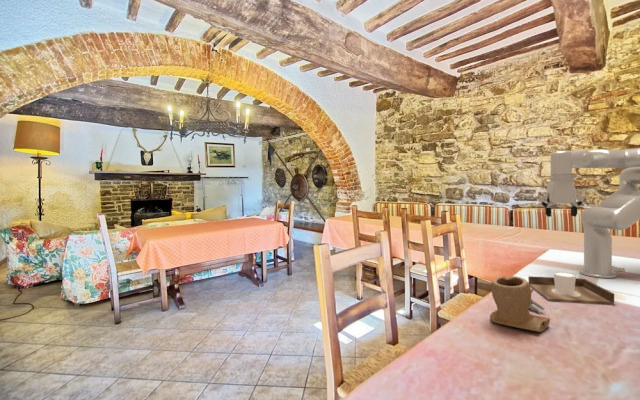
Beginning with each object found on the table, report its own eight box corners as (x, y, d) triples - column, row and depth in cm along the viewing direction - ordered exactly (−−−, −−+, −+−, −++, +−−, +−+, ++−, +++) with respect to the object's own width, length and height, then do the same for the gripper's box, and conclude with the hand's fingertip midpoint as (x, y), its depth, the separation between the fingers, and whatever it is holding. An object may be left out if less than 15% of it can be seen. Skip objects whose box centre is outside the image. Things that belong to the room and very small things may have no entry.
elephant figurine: (530, 317, 99) (505, 299, 107) (533, 325, 103) (508, 307, 110) (551, 297, 100) (525, 280, 108) (554, 305, 103) (528, 289, 111)
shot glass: (566, 289, 120) (566, 271, 120) (580, 295, 114) (580, 276, 113) (549, 289, 121) (549, 272, 121) (561, 295, 114) (561, 277, 114)
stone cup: (485, 326, 94) (484, 278, 93) (494, 313, 103) (494, 270, 102) (545, 341, 84) (545, 288, 83) (550, 326, 92) (550, 278, 92)
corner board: (584, 288, 124) (584, 278, 124) (614, 304, 106) (614, 293, 106) (528, 285, 129) (528, 276, 129) (548, 301, 112) (548, 290, 112)
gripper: (579, 177, 137) (579, 215, 138) (535, 179, 142) (535, 215, 143) (589, 177, 130) (588, 217, 131) (542, 179, 135) (542, 217, 135)
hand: (561, 216), depth 137 cm, fingers open, 9 cm apart
